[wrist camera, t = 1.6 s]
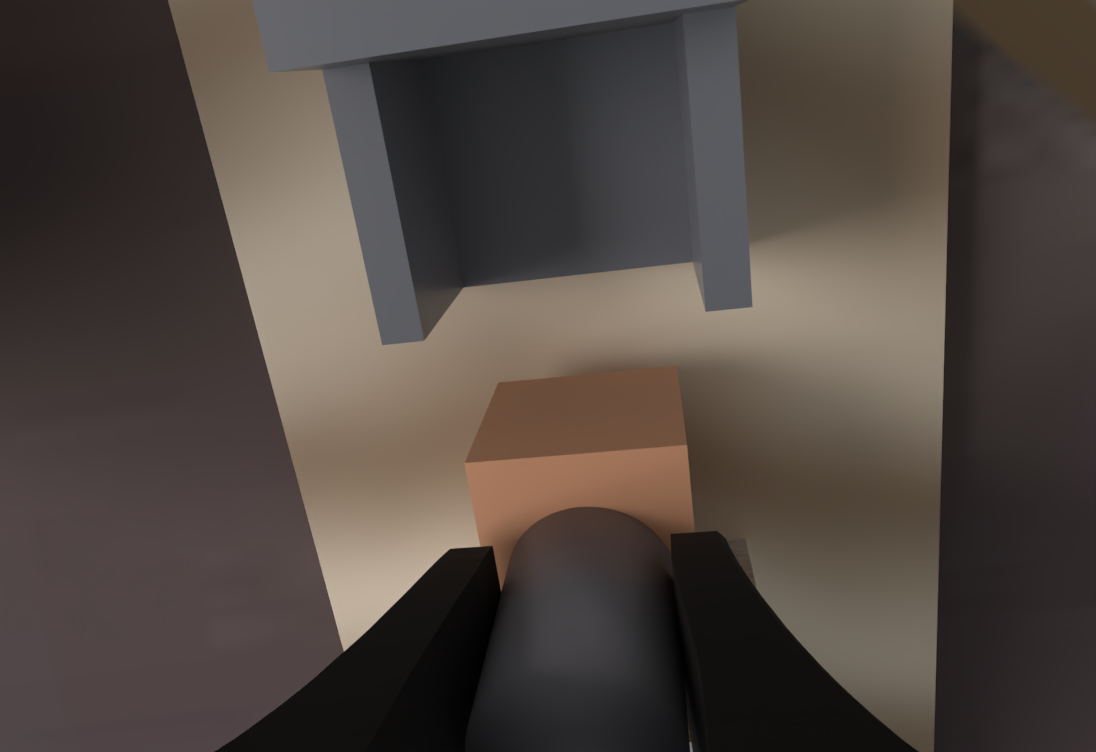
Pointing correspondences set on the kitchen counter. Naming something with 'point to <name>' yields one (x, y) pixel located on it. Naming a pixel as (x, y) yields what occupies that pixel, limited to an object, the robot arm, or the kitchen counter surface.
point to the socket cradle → (528, 140)
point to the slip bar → (582, 563)
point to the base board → (644, 335)
